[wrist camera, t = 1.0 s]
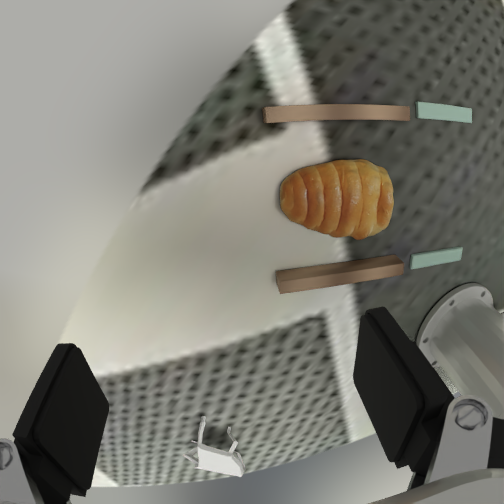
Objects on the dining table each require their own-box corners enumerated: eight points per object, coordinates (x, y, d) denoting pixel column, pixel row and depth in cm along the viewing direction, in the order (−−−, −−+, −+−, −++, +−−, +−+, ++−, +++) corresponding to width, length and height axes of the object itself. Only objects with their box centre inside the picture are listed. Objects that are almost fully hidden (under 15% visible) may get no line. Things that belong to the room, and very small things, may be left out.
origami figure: (166, 433, 38) (163, 462, 34) (205, 408, 36) (204, 439, 32) (230, 461, 42) (232, 487, 38) (270, 440, 40) (275, 468, 36)
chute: (397, 106, 24) (409, 106, 22) (393, 265, 30) (402, 274, 29) (262, 108, 24) (265, 107, 22) (276, 282, 30) (280, 293, 28)
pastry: (275, 231, 28) (283, 248, 25) (279, 153, 25) (288, 158, 22) (374, 231, 29) (392, 246, 25) (382, 159, 26) (404, 166, 23)
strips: (469, 108, 24) (471, 108, 24) (458, 258, 31) (460, 260, 31) (415, 101, 24) (417, 101, 24) (409, 267, 31) (411, 269, 30)
